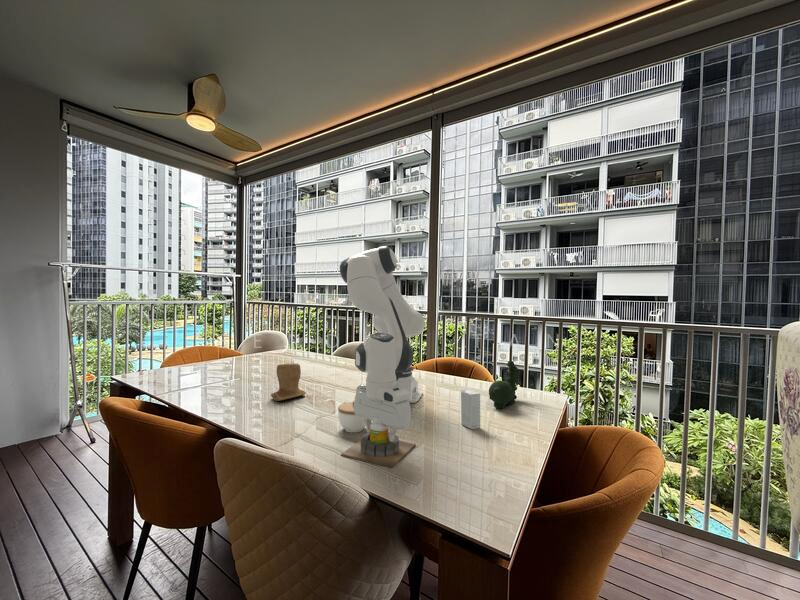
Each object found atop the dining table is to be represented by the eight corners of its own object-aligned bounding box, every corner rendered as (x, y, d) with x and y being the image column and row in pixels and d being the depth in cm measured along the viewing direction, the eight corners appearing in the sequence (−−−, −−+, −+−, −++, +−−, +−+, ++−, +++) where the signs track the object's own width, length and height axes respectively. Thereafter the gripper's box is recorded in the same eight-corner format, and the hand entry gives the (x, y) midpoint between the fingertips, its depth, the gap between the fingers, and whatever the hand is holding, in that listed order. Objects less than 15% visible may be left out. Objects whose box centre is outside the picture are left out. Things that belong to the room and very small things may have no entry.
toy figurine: (501, 400, 169) (481, 409, 148) (503, 358, 170) (484, 361, 149) (522, 404, 164) (505, 414, 143) (524, 361, 165) (507, 364, 144)
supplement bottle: (369, 453, 105) (369, 419, 105) (370, 445, 111) (370, 413, 111) (388, 453, 106) (388, 419, 105) (388, 446, 111) (388, 413, 111)
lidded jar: (343, 437, 119) (344, 408, 118) (333, 426, 128) (334, 399, 128) (374, 432, 124) (375, 403, 123) (362, 422, 133) (363, 395, 133)
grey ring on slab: (369, 436, 120) (370, 425, 120) (415, 446, 113) (415, 434, 113) (341, 455, 105) (341, 442, 105) (391, 468, 98) (391, 454, 98)
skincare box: (480, 428, 129) (481, 393, 129) (470, 430, 127) (471, 394, 127) (470, 422, 135) (470, 389, 134) (459, 424, 133) (460, 390, 132)
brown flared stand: (292, 391, 172) (293, 359, 171) (309, 396, 165) (310, 362, 164) (263, 398, 159) (263, 363, 159) (280, 404, 152) (280, 367, 152)
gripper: (349, 385, 113) (348, 430, 113) (399, 398, 100) (399, 449, 100) (364, 381, 118) (363, 425, 118) (414, 394, 104) (413, 443, 105)
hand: (380, 436), depth 109 cm, fingers open, 7 cm apart
